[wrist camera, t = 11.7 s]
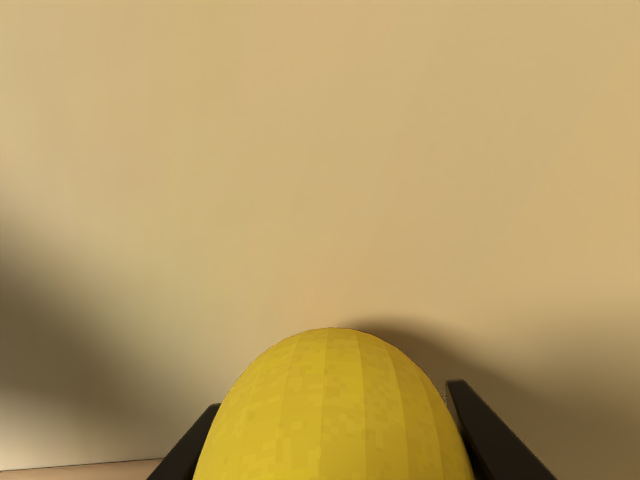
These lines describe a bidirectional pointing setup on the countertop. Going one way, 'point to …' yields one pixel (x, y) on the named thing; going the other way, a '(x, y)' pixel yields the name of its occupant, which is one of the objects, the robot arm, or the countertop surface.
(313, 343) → the lemon
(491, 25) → the countertop surface
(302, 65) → the countertop surface
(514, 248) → the countertop surface
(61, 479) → the box
